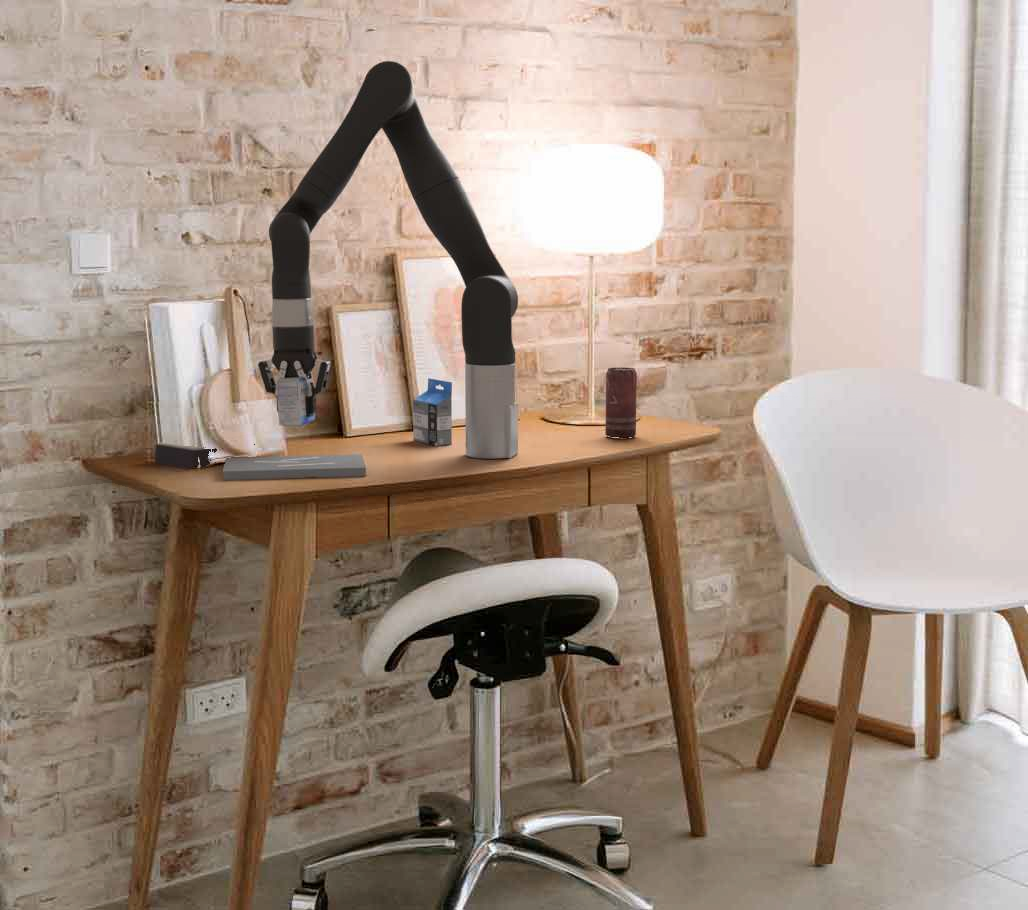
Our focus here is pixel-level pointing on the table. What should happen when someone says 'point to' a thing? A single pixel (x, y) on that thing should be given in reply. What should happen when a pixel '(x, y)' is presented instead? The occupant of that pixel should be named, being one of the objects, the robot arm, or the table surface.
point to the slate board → (293, 467)
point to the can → (621, 402)
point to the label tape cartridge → (433, 414)
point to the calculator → (182, 455)
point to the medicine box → (292, 402)
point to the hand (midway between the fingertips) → (296, 415)
